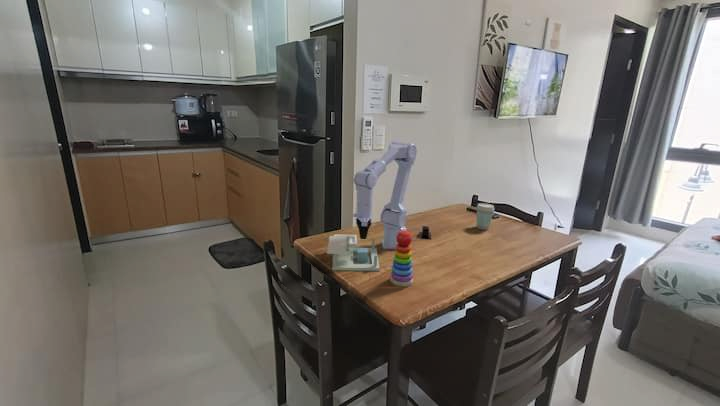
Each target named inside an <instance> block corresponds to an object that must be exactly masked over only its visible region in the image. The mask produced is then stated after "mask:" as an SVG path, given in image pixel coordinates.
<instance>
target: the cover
mask: <svg viewBox="0 0 720 406" xmlns="http://www.w3.org/2000/svg"><path fill="white" fill-rule="evenodd" d="M349 241H350V236H334V235H329V238H328V244H327V249H326V254H329V255H330V254H331V255H333V254H349Z"/></svg>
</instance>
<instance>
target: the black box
mask: <svg viewBox="0 0 720 406" xmlns="http://www.w3.org/2000/svg"><path fill="white" fill-rule="evenodd" d="M421 228H422V229H421V231H418V233H419V235H418V236H419V237H418V238H419V239H421V240H432V234H431V232H430V227H429V226H428V225H422V227H421Z"/></svg>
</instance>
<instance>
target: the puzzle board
mask: <svg viewBox="0 0 720 406" xmlns="http://www.w3.org/2000/svg"><path fill="white" fill-rule="evenodd" d="M375 241H376V240H375V238H372V239H371V247H367V248H368V262H357V248H358V246H357V247H349V254H332V268H331V269H332V271H358V272H360V271H361V272H363V271H364V272H380V269H381V267H380V262H379V257H378V250H377V249H378V248H377V247H375Z"/></svg>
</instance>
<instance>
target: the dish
mask: <svg viewBox="0 0 720 406" xmlns="http://www.w3.org/2000/svg"><path fill="white" fill-rule="evenodd" d="M333 236H350V241H349V247H357V248H358V238H357V237H358V235H357V234H333Z"/></svg>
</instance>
